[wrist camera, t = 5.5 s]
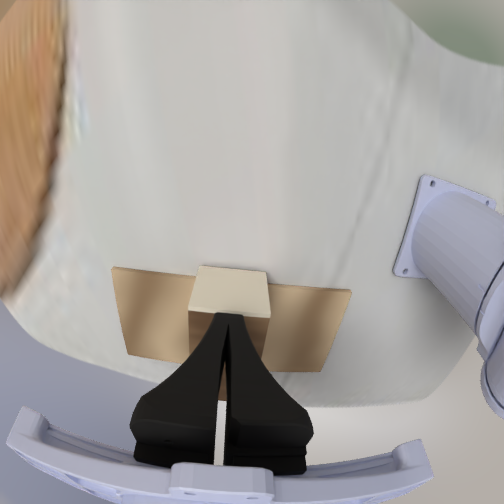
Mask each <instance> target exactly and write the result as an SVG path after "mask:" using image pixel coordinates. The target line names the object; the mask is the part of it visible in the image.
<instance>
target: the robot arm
mask: <svg viewBox="0 0 504 504" xmlns="http://www.w3.org/2000/svg"><path fill="white" fill-rule="evenodd" d="M431 181H432V185H431V186H430V182H431ZM495 208H496V201H495V200H493V199H491V198H489V197H486V196H484V195H481V194H479V193H476V192H474V191H471V190H469V189H466V188H464V187H461V186H458V185H456V184H453V183H450V182H447V181H444V180H441V179H438V178H435V177H432V176H429V175H423V176H422V177H421V178H420V182H419V186H418V190H417V194H416V198H415V202H414V205H413V209H412V213H411V216H410V220H409V223H408V226H407V230H406V233H405V236H404V239H403V242H402V245H401V248H400V251H399V254H398V257H397V260H396V263H395V266H394V268H393V272H394V274H395V275H396V276H399V277H411V278H424V279H429V280H430V281H431V282H432V283H433V284H434V285H435V287H436V288H437V289H438V290H439V291H440V292H441V293H442V294H443V296H444V297H445V298H446V299H447V300H448V301H449V303H450V304H451V305H452V306H453V307H454V308H455V310H456V311H457V312H458V313H459V314H460V316H461V317H462V318H463V319H464V321H465V322H466V323H467V324H468V326H469V327H470V328H471V329H472V331H473V332H474V333H475V335H476V336H477V337H478V339H479V344H478V347H477V351H478V352H479V354H480V355H481V357H482V358H483V359H484V364H483V366H482V370H481V380H480V381H481V388H482V391H483V395H484V397H485V399H486V402H487V403H488V405H489V406H490V408H491V409H492V410H493V411H494V412H495V413H496V414H497V415H498V416H499V417H501V418H503V419H504V215H502V214H501V213H499V212H497V211H495ZM404 269H406V270H405V271H404V272H403V270H404ZM224 363H225V372H226V395H227V406H226V424H225V443H224V461H223V466H221V465H214V450H215V434H216V420H217V419H216V418H217V404H218V397H219V391H220V386H221V380H222V374H223V369H224ZM130 429H131V431H132V433H133V435H134V437H135V439H136V441H137V442H136V446H135V451H134V452H131V451H127V450H124V449H120V448H116V447H113V446H109V445H106V444H103V443H100V442H97V441H94V440H91V439H87V438H85V437H82V436H79V435H76V434H74V433H71V432H69V431H66V430H64V429H61V428H59V427H57V426H54V425H52V424H50V423H49V421H48V420H47V419H46V418H45V417H44V416H43V415H42V414H40V413H38V412H36V411H34V410H32V409H30V408H28V407H26V406H22V408H21V410H20V412H19V415H18V417H17V418H16V421H15V423H14V425H13V427H12V429H11V431H10V434H9V436H8V438H7V441H6V444H7V445H8V446H9V447H10V448H11V449H12V450H14V451H15V452H16V453H17V454H18V455H19V456H21V457H22V458H23V459H24V460H26V461H27V462H28V463H29V464H30V465H32V466H34V467H36V468H38V469H39V470H41V471H43V472H45V473H47V474H49V475H51V476H53V477H55V478H57V479H59V480H61V481H63V482H65V483H67V484H69V485H71V486H74V487H76V488H78V489H80V490H83V491H85V492H87V493H90V494H92V495H95V496H97V497H100V498H103V499H106V500H108V501H111V502H114V503H117V504H378V503H381V502H384V501H387V500H390V499H393V498H396V497H399V496H402V495H405V494H407V493H409V492H411V491H412V490H414V489H416V488H418V487H419V486H421V485H423V484H424V483H426V482H427V481H429V480H431V479H432V478H433V477H434V475H433V472H432V469H431V466H430V463H429V460H428V458H427V455H426V452H425V449H424V447H423V444H422V441H421V439H417V440H414V441H410V442H406V443H403V444H401V445H399V446H397V447H396V448H395V449H394V450H393V451H392V452H389V453H385V454H380V455H376V456H371V457H367V458H361V459H356V460H350V461H343V462H337V463H329V464H320V465H310V466H306V460H305V455H306V454H307V451H306V445H307V444H308V442H309V441H310V439H311V438H312V437H313V434H314V432H313V426H312V423H311V420H310V417H309V415H308V412H307V410H305V409H304V408H303V407H302V406H300V405H299V404H298V403H297V402H296V401H295V400H294V399H293V398H291V397H290V396H289V395H288V394H287V393H286V392H285V390H284V389H283V388H282V387H281V386H280V385H279V384H278V382H277V381H276V380H275V379H274V378H273V376H272V375H271V374H270V372H269V371H268V369H267V368H266V366H265V365H264V363H263V362H262V360H261V358H260V356H259V355H258V353H257V351H256V349H255V347H254V345H253V343H252V340H251V338H250V336H249V333H248V330H247V328H246V324H245V320H244V316H243V315H242V314H232V313H222V312H216V313H215V314H214V317H213V319H212V322H211V324H210V326H209V328H208V330H207V331H206V333H205V335H204V336H203V338H202V340H201V341H200V343H199V344H198V345H197V347H196V348H195V349H194V351H193V352H192V353H191V355H190V356H189V357H188V358H187V359H186V361H185V362H184V363H183V364H182V365H181V366H180V367H179V368H178V369H177V370H176V371H175V372H174V373H173V374H172V375H171V376H169V377H168V378H167V379H166V380H164V381H163V382H162V383H161V384H159V385H158V386H157V387H156V388H154V389H152V390H151V391H149V392H148V393H146V394H145V395H143V396H142V397H141V398H140V400H139V402H138V403H137V405H136V407H135V410H134V412H133V414H132V418H131V422H130Z"/></svg>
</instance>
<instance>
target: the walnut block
mask: <svg viewBox="0 0 504 504" xmlns="http://www.w3.org/2000/svg"><path fill="white" fill-rule="evenodd" d="M216 312H222V313H232V314H242V315H243V316H244V320H245V324H246V328H247V330H248V333H249V336H250V338H251V340H252V343H253V345H254V347H255V349H256V351H257V353H258V355H259V356H260V358H262V353H263V349H264V344H265V339H266V335H267V330H268V325H269V321H270V316H271V311H270V302H269V294H268V285H267V277H266V272H260V271H249V270H239V269H229V268H219V267H209V266H199V269H198V273H197V276H196V280H195V283H194V287H193V290H192V294H191V297H190V301H189V305H188V327H189V356H190V355H191V353H192V352H193V351H194V349H195V348H196V347H197V345H198V344H199V343H200V341H201V340H202V338H203V336H204V335H205V333H206V331H207V330H208V328H209V326H210V324H211V322H212V319H213V317H214V314H215V313H216ZM218 400H221V401H227V395H226V372H225V363H224V369H223V374H222V380H221V386H220V391H219V397H218Z"/></svg>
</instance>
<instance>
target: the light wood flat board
mask: <svg viewBox="0 0 504 504" xmlns="http://www.w3.org/2000/svg"><path fill="white" fill-rule="evenodd" d="M111 271H112V278H113V284H114V290H115V296H116V302H117V307H118V312H119V317H120V322H121V327H122V332H123V336H124V340H125V344H126V349H127V353H128V354H129V355H134V356H139V357H144V358H150V359H156V360H162V361H168V362H175V363H182V364H183V363H184V362H185V361H186V359H187V358H188V357H189V327H188V305H189V301H190V297H191V294H192V290H193V287H194V283H195V280H196V277H195V276H186V275H177V274H168V273H160V272H151V271H143V270H135V269H127V268H120V267H113V268H112V269H111ZM267 285H268V294H269V302H270V311H271V316H270V321H269V325H268V330H267V335H266V339H265V344H264V349H263V353H262V358H261V360H262V362H263V363H264V365H265V366H266V368H267V369H268V371H277V372H320V371H321V369H322V367H323V365H324V362H325V360H326V358H327V355H328V353H329V351H330V348H331V346H332V344H333V341H334V339H335V336H336V334H337V331H338V329H339V326H340V324H341V321H342V318H343V316H344V313H345V310H346V308H347V305H348V302H349V300H350V297H351V294H352V292H351V290H345V289H330V288H316V287H303V286H290V285H278V284H267Z"/></svg>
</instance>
